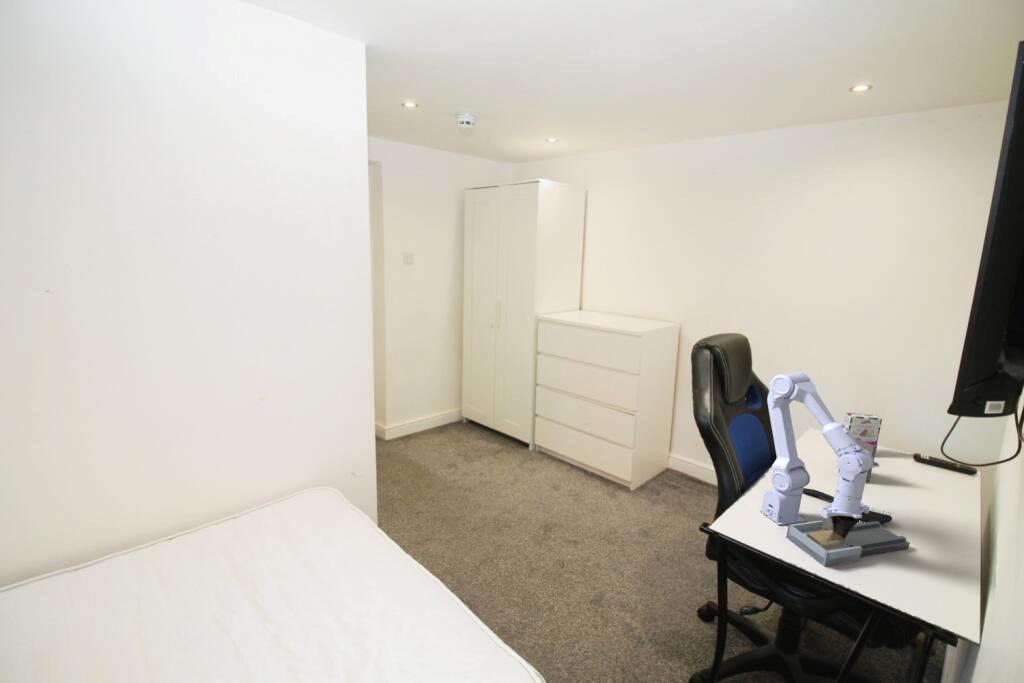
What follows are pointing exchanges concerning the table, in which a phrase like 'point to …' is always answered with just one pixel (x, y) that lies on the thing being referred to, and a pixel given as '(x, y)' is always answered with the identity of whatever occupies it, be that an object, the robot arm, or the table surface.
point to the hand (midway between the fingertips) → (838, 537)
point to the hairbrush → (866, 517)
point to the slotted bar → (874, 539)
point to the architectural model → (873, 451)
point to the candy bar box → (863, 427)
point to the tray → (822, 555)
